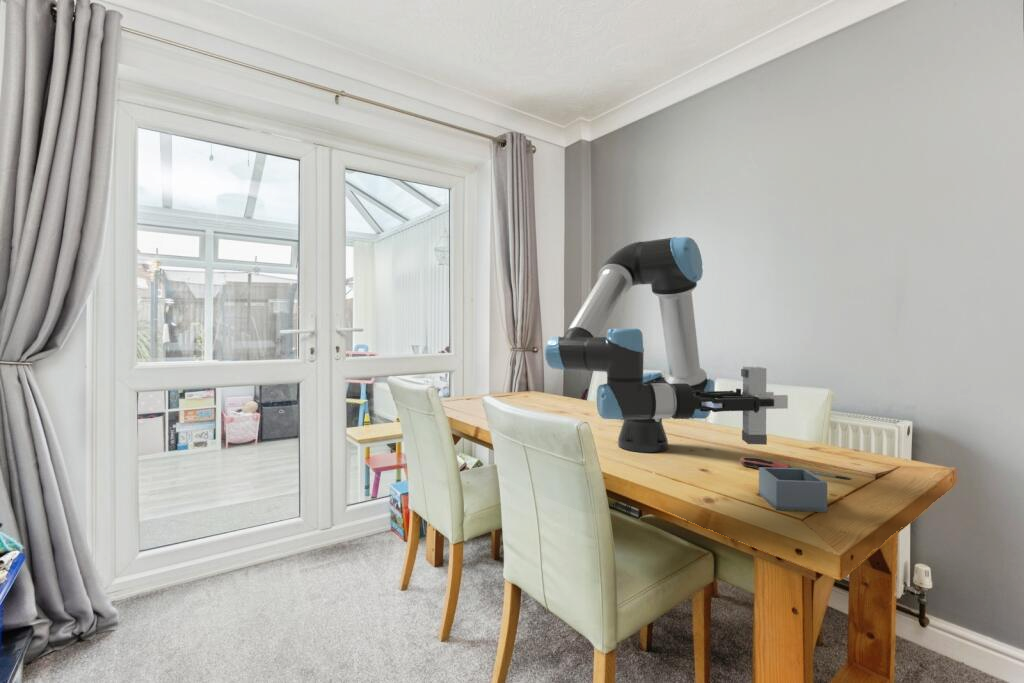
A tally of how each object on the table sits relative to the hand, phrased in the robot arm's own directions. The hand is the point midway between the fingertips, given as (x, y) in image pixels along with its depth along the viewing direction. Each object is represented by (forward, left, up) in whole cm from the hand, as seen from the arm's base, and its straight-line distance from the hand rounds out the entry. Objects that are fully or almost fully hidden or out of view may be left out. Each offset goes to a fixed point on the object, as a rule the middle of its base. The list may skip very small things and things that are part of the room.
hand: (779, 399), depth 101 cm
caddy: (0, +2, -22) cm, 22 cm away
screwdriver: (-20, +11, -22) cm, 32 cm away
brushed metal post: (+1, -5, -9) cm, 10 cm away
